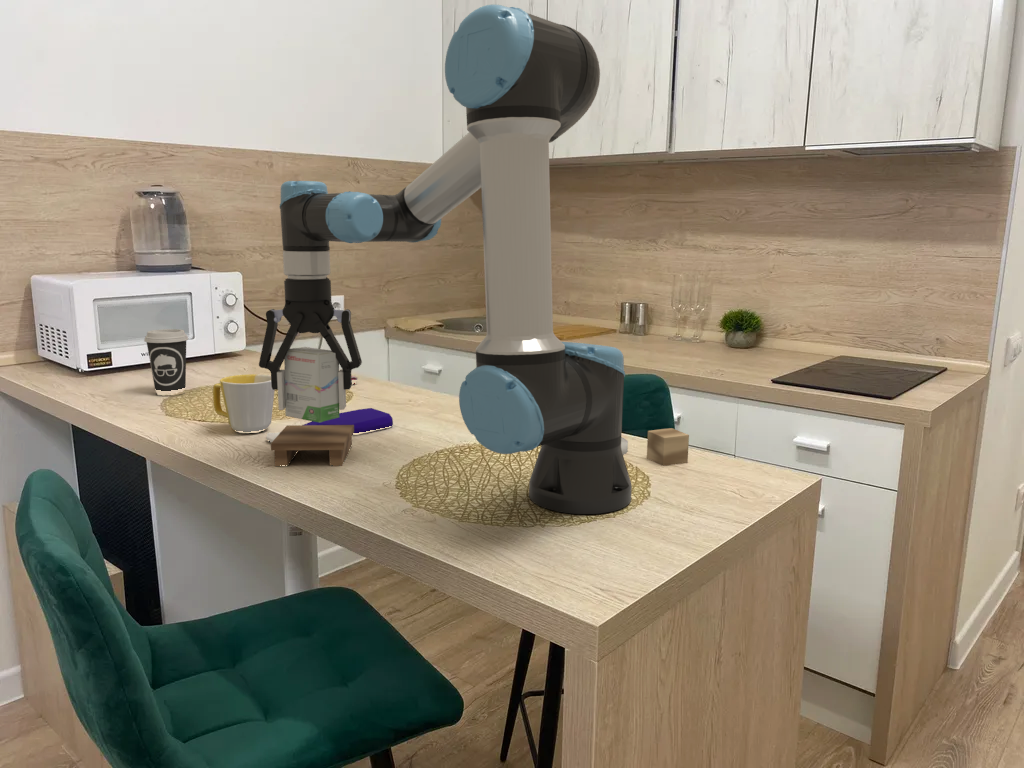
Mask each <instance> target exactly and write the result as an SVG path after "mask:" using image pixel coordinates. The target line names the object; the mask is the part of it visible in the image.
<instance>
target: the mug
mask: <svg viewBox="0 0 1024 768" xmlns="http://www.w3.org/2000/svg"><path fill="white" fill-rule="evenodd" d="M270 375H271V374H270ZM270 375H269V374H259V373H258V374H255V373H253V374H251V373H250V374H237V375H229V376H226V377H222V378H221V379H220V380H219V383H215V384H214V385H213V388H212V399H213V407H214V411H215V413H216V414H217V415H219V416H222V417H225V418H227V420H228V424H229V427H230V428H231V429H232V430H233V431H234V430H236V431H243V432H251V431H259V430H263V429H266V428H267V429H268V428H269V427H270V425H271V424H272V420H273V419H272V418H273V408H274V399H275V391H276V390H273V389H272V385H271V376H270ZM221 394H222V398H223V402H224V406H225V411H224V410H223V409H222V405H221ZM267 429H266V430H267Z"/></svg>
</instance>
